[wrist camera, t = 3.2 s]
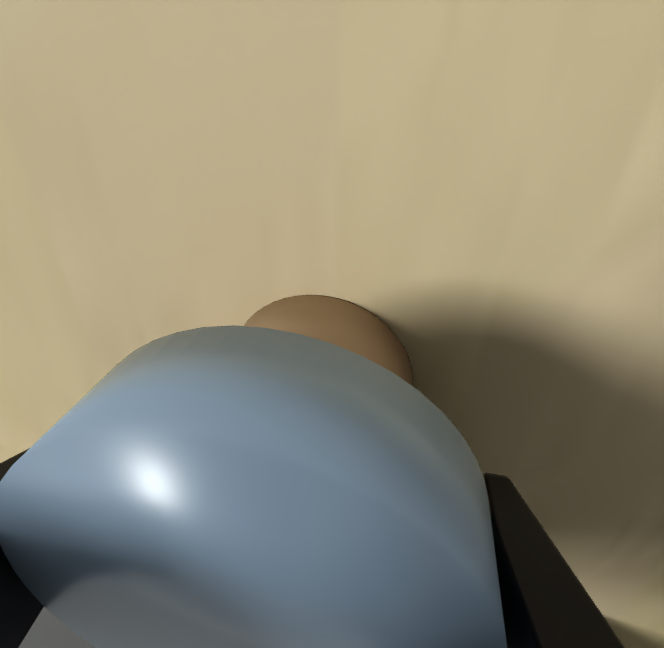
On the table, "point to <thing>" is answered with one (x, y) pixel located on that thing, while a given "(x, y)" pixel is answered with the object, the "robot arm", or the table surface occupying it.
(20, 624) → the robot arm
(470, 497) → the disc
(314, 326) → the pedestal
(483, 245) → the table surface
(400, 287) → the table surface
